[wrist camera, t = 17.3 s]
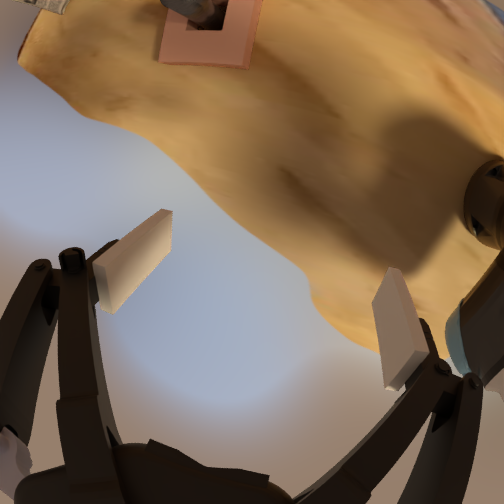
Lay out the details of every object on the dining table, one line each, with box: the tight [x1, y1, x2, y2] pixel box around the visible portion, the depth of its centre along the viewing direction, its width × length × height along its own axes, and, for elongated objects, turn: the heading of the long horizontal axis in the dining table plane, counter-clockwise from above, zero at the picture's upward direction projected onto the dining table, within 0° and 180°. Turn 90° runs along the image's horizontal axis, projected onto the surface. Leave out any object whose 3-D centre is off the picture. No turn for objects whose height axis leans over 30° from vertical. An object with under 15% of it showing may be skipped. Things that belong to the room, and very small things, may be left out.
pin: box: [160, 0, 226, 31], centre depth 26 cm, size 4×4×14 cm
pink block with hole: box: [158, 0, 262, 70], centre depth 31 cm, size 13×16×4 cm
